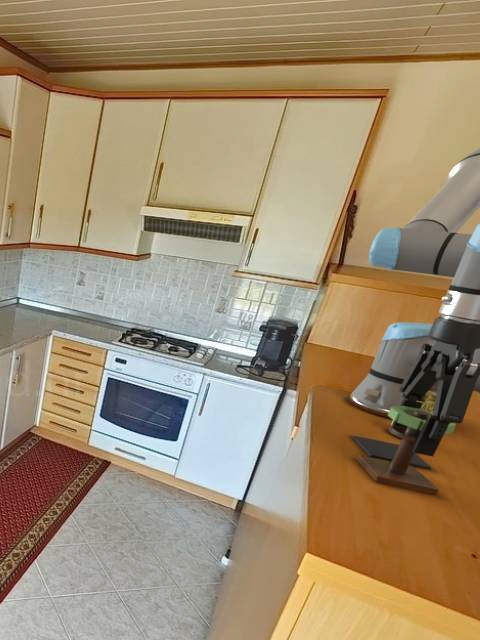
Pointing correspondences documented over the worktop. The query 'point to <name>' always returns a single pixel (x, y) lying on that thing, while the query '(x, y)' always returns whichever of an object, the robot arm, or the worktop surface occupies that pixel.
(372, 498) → the worktop surface
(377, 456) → the mat
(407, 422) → the ring
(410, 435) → the peg stand
